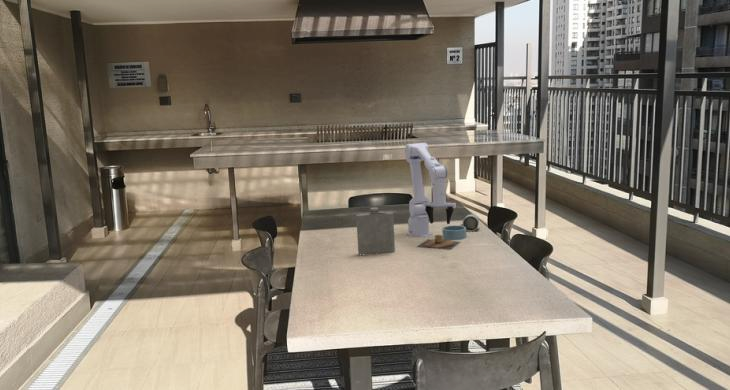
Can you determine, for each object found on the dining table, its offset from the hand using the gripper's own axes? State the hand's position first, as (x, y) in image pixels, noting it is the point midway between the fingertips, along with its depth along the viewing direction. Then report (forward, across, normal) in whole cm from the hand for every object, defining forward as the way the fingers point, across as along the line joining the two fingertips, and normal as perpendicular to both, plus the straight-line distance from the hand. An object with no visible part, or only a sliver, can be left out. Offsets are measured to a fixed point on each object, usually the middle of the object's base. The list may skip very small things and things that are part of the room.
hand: (440, 223), depth 265 cm
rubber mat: (+10, -1, 0) cm, 10 cm away
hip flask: (+10, -23, -19) cm, 32 cm away
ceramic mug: (+10, +4, +31) cm, 33 cm away
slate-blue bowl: (+10, +2, +14) cm, 18 cm away
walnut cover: (+10, -1, 0) cm, 10 cm away
